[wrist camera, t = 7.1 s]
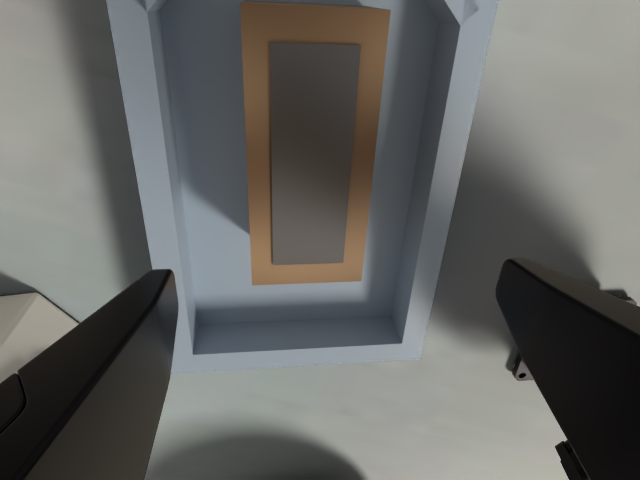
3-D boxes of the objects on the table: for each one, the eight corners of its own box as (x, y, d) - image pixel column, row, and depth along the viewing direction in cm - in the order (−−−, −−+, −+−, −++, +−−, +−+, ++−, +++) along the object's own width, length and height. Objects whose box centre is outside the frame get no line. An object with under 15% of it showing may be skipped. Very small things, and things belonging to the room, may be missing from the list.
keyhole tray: (403, 320, 26) (420, 359, 23) (180, 330, 25) (170, 374, 22) (521, -338, 13) (589, -422, 11) (71, -411, 12) (14, -533, 9)
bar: (344, 234, 22) (361, 282, 18) (252, 236, 21) (251, 286, 18) (363, 5, 17) (391, 10, 13) (243, 0, 16) (239, 3, 13)
